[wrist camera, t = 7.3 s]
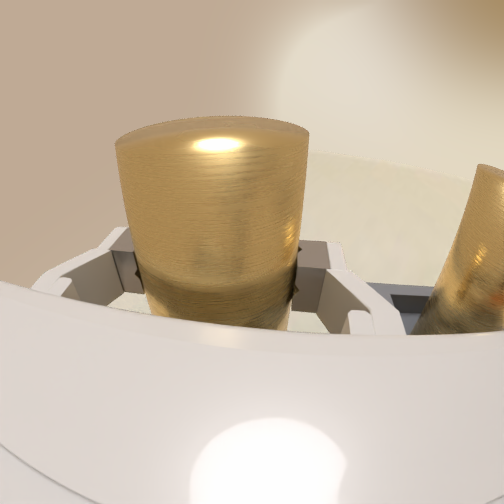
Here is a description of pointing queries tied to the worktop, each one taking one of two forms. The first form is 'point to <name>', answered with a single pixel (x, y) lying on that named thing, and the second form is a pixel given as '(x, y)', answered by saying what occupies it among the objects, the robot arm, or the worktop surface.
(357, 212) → the worktop surface
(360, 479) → the robot arm
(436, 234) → the worktop surface
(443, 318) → the seated billet
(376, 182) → the worktop surface
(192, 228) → the cylinder
